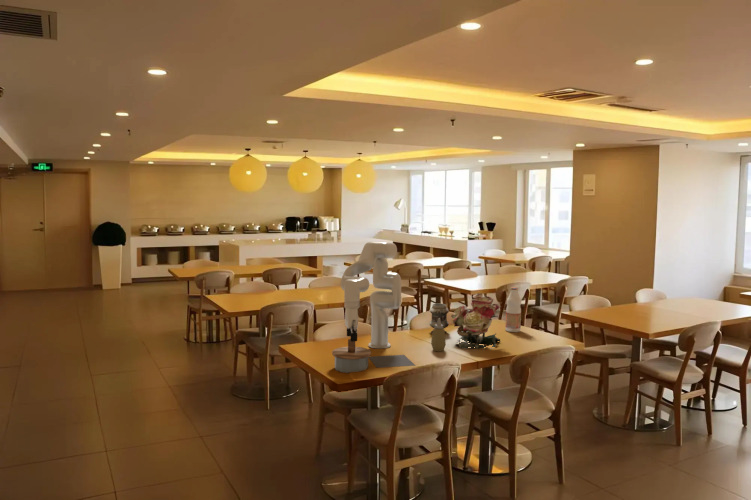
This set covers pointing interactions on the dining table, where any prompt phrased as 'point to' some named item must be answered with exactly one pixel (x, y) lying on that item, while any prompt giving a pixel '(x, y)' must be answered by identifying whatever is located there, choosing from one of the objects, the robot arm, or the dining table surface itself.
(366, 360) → the slate bowl
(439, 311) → the apothecary jar
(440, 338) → the squeeze bottle
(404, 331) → the dining table surface
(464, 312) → the rose bouquet
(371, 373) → the dining table surface
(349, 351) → the walnut lid
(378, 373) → the dining table surface
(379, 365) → the gray square mat
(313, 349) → the dining table surface
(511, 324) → the fruit juice
